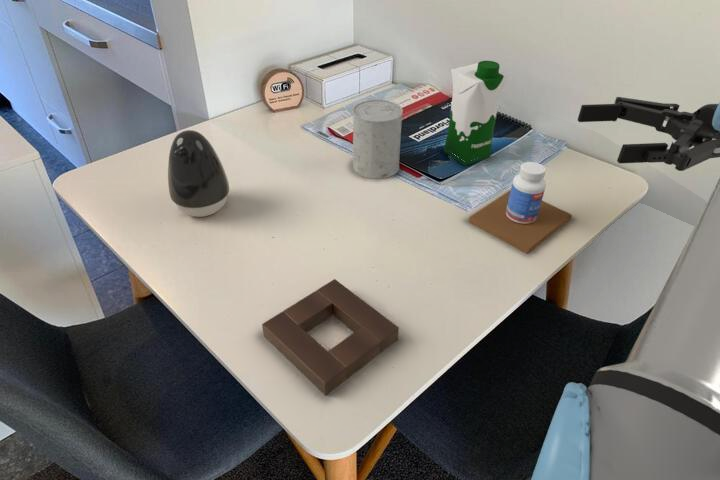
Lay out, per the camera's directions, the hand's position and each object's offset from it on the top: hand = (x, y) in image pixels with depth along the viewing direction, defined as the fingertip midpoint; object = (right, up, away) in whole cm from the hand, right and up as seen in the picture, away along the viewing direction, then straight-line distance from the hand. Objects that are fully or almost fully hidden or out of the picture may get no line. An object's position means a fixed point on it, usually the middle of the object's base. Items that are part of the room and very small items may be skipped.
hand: (599, 132), depth 81 cm
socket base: (-41, -30, -10) cm, 52 cm away
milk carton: (-14, +1, +30) cm, 34 cm away
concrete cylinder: (-34, -2, +26) cm, 43 cm away
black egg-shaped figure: (-65, -11, +14) cm, 68 cm away
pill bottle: (-9, -13, +11) cm, 19 cm away
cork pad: (-9, -13, +12) cm, 20 cm away
